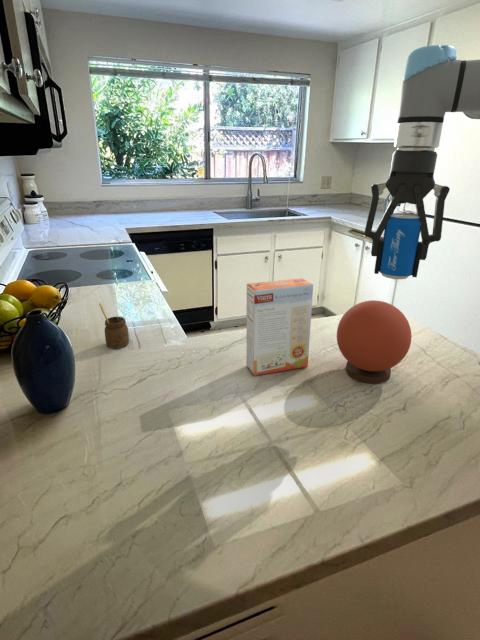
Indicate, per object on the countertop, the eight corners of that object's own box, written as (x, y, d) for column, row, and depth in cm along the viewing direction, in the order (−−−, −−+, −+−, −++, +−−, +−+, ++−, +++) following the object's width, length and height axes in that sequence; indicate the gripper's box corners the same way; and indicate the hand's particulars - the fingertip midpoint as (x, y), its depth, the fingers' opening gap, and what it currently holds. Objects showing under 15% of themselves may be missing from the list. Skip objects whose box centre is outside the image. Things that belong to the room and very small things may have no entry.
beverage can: (373, 276, 81) (382, 215, 76) (383, 269, 85) (391, 211, 81) (407, 282, 77) (418, 218, 73) (415, 274, 82) (426, 214, 78)
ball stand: (402, 362, 99) (414, 295, 92) (405, 396, 85) (420, 320, 78) (336, 352, 104) (343, 288, 97) (329, 383, 90) (337, 310, 83)
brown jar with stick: (129, 347, 105) (124, 304, 101) (104, 350, 104) (98, 306, 99) (129, 338, 111) (125, 297, 106) (105, 340, 109) (100, 299, 105)
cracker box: (297, 356, 101) (303, 276, 93) (308, 368, 96) (315, 284, 88) (244, 364, 97) (245, 281, 89) (253, 376, 92) (255, 290, 84)
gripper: (358, 149, 72) (344, 274, 81) (480, 150, 66) (450, 283, 75) (360, 149, 78) (346, 264, 87) (470, 150, 73) (444, 273, 82)
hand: (394, 273), depth 81 cm, fingers closed on beverage can, 6 cm apart
